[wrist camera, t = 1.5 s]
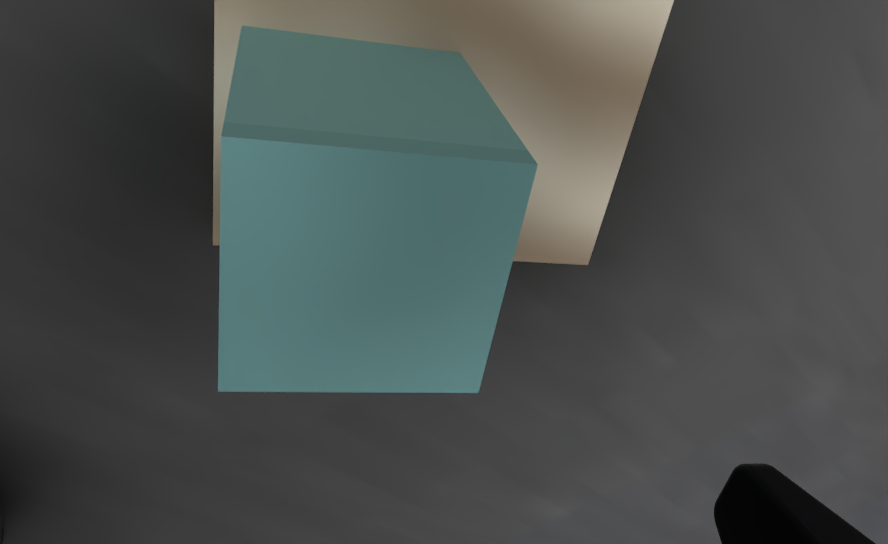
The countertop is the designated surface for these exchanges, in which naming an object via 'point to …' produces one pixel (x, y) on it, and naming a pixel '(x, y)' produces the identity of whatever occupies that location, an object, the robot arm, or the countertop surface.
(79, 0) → the countertop surface
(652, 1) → the board
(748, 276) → the countertop surface
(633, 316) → the countertop surface
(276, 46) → the teal rectangular block
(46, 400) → the countertop surface
